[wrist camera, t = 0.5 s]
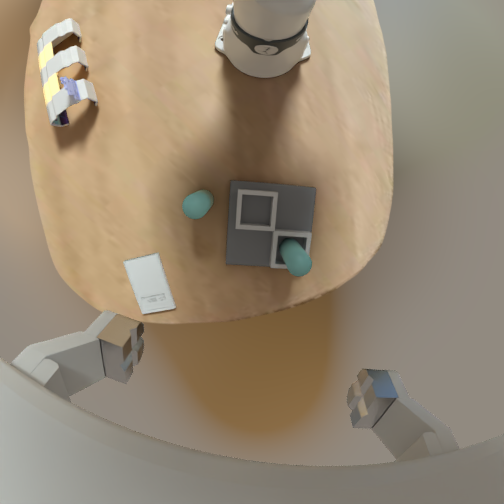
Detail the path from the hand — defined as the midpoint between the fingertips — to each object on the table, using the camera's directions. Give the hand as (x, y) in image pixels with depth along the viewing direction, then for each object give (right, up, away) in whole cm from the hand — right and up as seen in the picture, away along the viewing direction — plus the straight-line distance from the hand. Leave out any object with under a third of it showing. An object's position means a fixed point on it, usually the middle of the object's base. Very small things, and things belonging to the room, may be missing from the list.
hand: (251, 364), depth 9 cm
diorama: (-40, +44, +33) cm, 68 cm away
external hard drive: (-22, -3, +48) cm, 52 cm away
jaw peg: (-9, +14, +43) cm, 46 cm away
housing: (+3, +9, +44) cm, 45 cm away
